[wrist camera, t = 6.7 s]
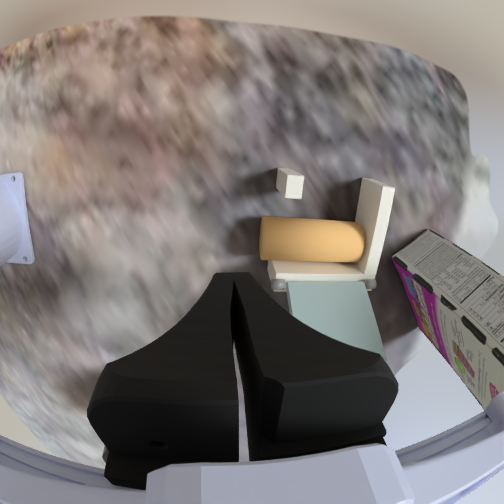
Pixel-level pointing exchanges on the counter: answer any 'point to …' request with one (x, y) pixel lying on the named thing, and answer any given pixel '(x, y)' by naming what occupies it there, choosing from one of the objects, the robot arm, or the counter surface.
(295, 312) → the cover flap
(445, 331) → the candy bar box
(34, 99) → the counter surface
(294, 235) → the tan cylinder roller
